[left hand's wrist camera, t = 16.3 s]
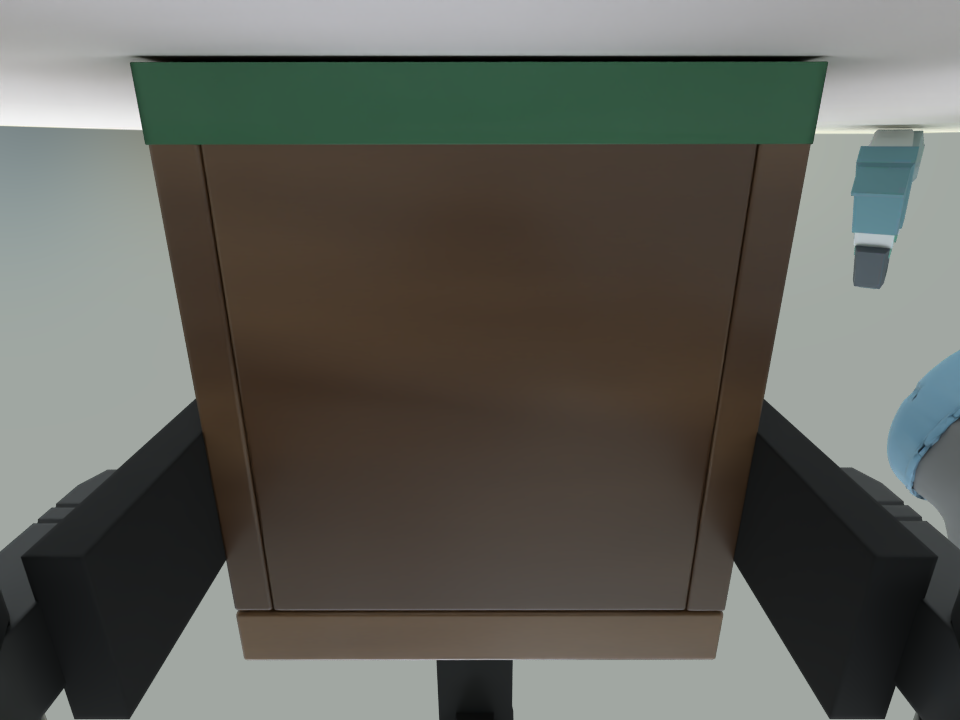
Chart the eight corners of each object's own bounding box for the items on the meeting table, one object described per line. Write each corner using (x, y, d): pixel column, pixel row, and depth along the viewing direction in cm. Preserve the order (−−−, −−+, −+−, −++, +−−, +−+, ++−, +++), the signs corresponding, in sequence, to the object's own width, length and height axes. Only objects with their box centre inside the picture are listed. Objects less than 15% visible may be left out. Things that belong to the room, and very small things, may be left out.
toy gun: (867, 201, 58) (842, 294, 57) (880, 66, 42) (846, 190, 41) (912, 203, 56) (887, 300, 55) (943, 62, 40) (909, 193, 39)
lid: (582, 338, 27) (572, 490, 30) (377, 338, 27) (387, 490, 30) (724, 614, 11) (675, 879, 14) (234, 614, 11) (284, 879, 14)
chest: (601, 113, 23) (586, 344, 27) (357, 113, 23) (373, 344, 27) (828, 62, 8) (725, 611, 11) (129, 62, 8) (233, 613, 11)
